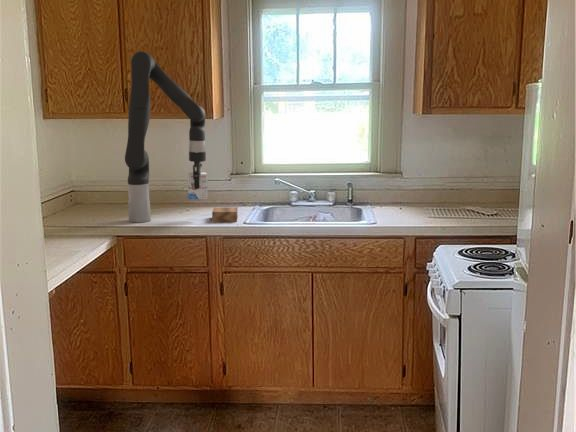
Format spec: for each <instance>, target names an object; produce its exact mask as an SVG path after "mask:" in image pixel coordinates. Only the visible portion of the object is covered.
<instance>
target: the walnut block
mask: <svg viewBox="0 0 576 432" xmlns="http://www.w3.org/2000/svg"><path fill="white" fill-rule="evenodd" d="M211 216H212V217H211V218H212V219H211V220H212V223H237V222H238V218H239V213H238V207H236V206H235V207H232V206H231V207H225V206H224V207H223V206H222V207H213V210H212V212H211Z"/></svg>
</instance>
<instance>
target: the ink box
mask: <svg viewBox="0 0 576 432" xmlns="http://www.w3.org/2000/svg"><path fill="white" fill-rule="evenodd" d="M195 177H198V176H197V175H196V176H195ZM208 179H209V178H208V173H207V172H204V171H202V173H201V175H200V180H199V189H195V188H194V180H193V171H192V172H191V171H190V172H187V198H188V199H189V200H208Z"/></svg>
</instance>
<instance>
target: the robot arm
mask: <svg viewBox="0 0 576 432" xmlns="http://www.w3.org/2000/svg"><path fill="white" fill-rule="evenodd" d="M130 68H131V69H130V70H131V71H130V72H131V87H130V95H129V103H128V104H129V105H128V121H127V123H128V124H127V125H128V126H127V131H128V132H127V142H126V143H127V144H126V148H125V153H124V163H125V164H126V166H127V167H128V176H127V190H128V201H127V210H128V222H129V223H130V222H131V223H145V222H150V221H151V220H152V219H151V218H152V217H151V215H152V214H151V202H150V183H149V181H150V160H149V154H148V152H147V151H146V150H145V140H146V135H147V132H148V128H149V125H150V124H149V123H150V119H151V105H152V104H151V96H150V89H149V87H150V86H149V84H150V80H151V81H152V82H153V83H155V84H156V85H157V86H158V87H159V88H160V89H161V91H162V92H163V93H164V94H165V95H166V96H167V97H168V99H169V100H170V101H171V102H172V103H173V104H174V105H175V106H177V107H178V108H179V109H180V110H181V111H182V112H183V113H184V115H185V116H186V117H187V118H188V119H189V121H190V122H189V131H188V137H189V138H188V140H189V142H188V161H190V162H191V163H192V162H193V165H192V172H193V180H194V188H195V189H199V180H200V175H201V173H202V172H203V164H202V163H204V162H206V160H207V157H206V155H207V153H206V150H207V149H206V148H207V147H206V131H205V129H206V128H205V127H206V110H205V109H204V107H202V106H200V105H199V104H197V102H195V101H194V100H193V99H192V98H191V96H190V95H189V94H188V93H187V92H186V91H185V90H184V89H183V88H182V87H181V86H180V85H179V84H178V83H176V82H175V80H173V79H172V78H171V77H169V76H168V75H167V73H166V72H165V71H164V70H163V69H162V68H161V66H160V65H159V64H158V63H157V62H156V60H155V58H154V56H152V54H150V53H149V52H146V51H137V52H135V53H134V54H133V55H132V57H131V59H130ZM196 175H197V176H198V177H195V176H196Z"/></svg>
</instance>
